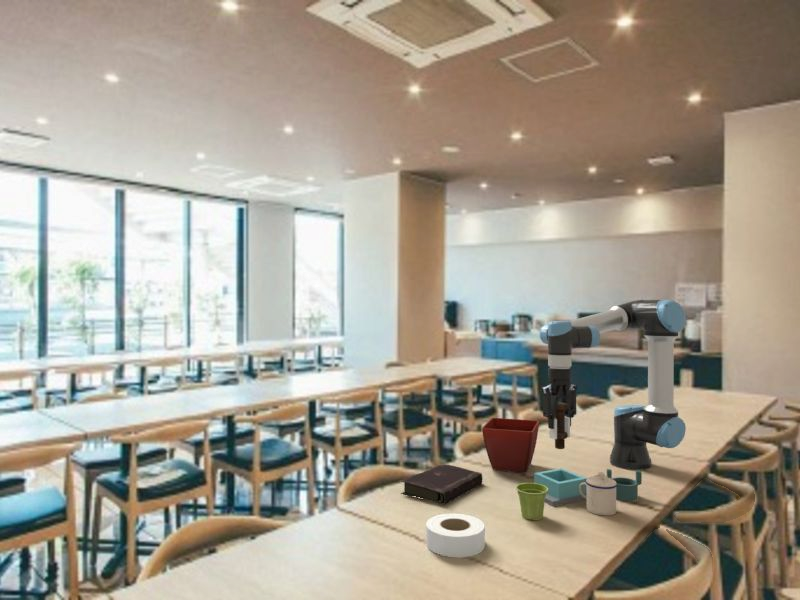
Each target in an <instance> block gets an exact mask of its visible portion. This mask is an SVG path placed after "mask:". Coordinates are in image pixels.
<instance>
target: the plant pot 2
mask: <svg viewBox="0 0 800 600" xmlns="http://www.w3.org/2000/svg"><path fill="white" fill-rule="evenodd" d="M515 489H516V491H517V494H518V496H519V497H518V499H519V505H520V512H521V516H522V518H524V519H526V520H533V521H539V520H542V519H543V516H544V509H545V496H546V493H547V491H548V488H547V487H546V486H544V485H541V484H537V483H534V482H522V483H519V484H517V485H516V486H515Z"/></svg>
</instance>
